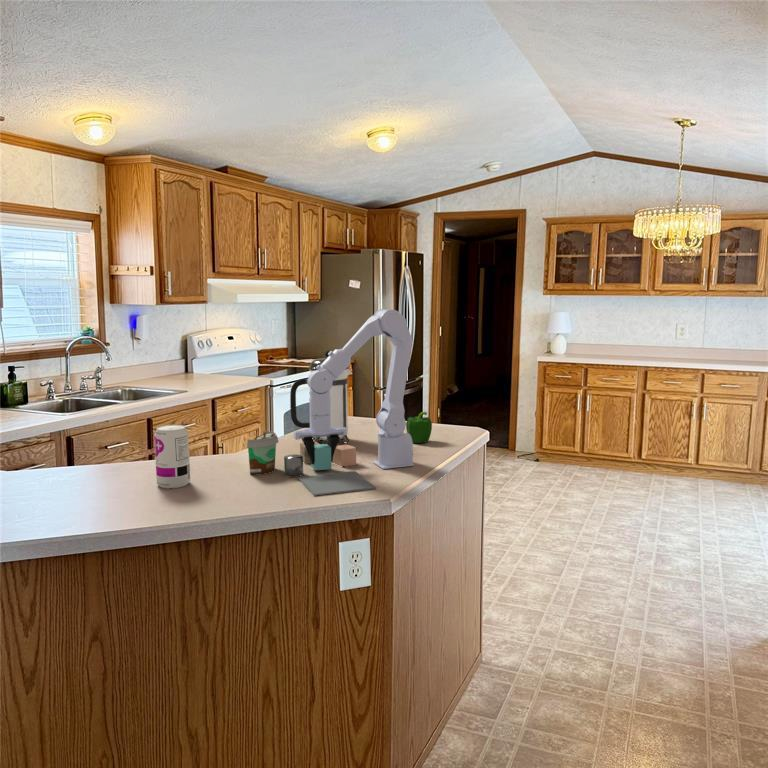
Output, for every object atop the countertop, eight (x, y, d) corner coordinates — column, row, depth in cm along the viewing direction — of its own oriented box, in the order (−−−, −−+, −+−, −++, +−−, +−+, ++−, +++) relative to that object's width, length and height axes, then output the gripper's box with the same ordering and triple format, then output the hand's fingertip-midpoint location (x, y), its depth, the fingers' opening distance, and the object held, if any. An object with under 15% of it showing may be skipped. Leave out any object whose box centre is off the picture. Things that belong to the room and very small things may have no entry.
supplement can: (160, 491, 167) (157, 432, 165) (154, 482, 174) (151, 426, 172) (193, 486, 170) (190, 428, 168) (186, 478, 178) (184, 423, 176)
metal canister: (301, 471, 184) (300, 453, 183) (305, 476, 179) (304, 457, 179) (283, 473, 183) (282, 455, 182) (286, 477, 178) (285, 459, 177)
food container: (269, 477, 178) (268, 441, 177) (248, 476, 179) (246, 440, 178) (285, 465, 190) (284, 431, 189) (265, 464, 191) (264, 430, 190)
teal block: (326, 464, 188) (326, 443, 187) (331, 468, 184) (331, 447, 183) (311, 466, 186) (310, 445, 186) (315, 470, 182) (315, 448, 181)
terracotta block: (346, 461, 195) (346, 444, 194) (356, 464, 191) (356, 447, 190) (332, 463, 192) (332, 446, 192) (341, 467, 188) (341, 450, 188)
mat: (355, 472, 182) (355, 470, 182) (375, 489, 168) (375, 487, 168) (298, 478, 177) (298, 477, 177) (314, 496, 162) (313, 494, 162)
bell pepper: (402, 443, 216) (402, 413, 215) (411, 438, 224) (411, 409, 222) (426, 445, 213) (427, 415, 212) (435, 440, 221) (435, 410, 219)
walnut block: (316, 458, 199) (316, 441, 198) (321, 462, 194) (321, 445, 193) (300, 459, 197) (300, 443, 196) (304, 464, 192) (304, 447, 191)
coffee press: (324, 433, 231) (323, 347, 227) (361, 439, 222) (360, 349, 218) (289, 443, 217) (287, 351, 213) (327, 450, 208) (325, 354, 204)
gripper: (341, 409, 189) (341, 456, 191) (290, 413, 184) (292, 461, 186) (348, 414, 183) (349, 462, 185) (296, 418, 178) (298, 467, 179)
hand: (321, 462), depth 185 cm, fingers closed on teal block, 4 cm apart
